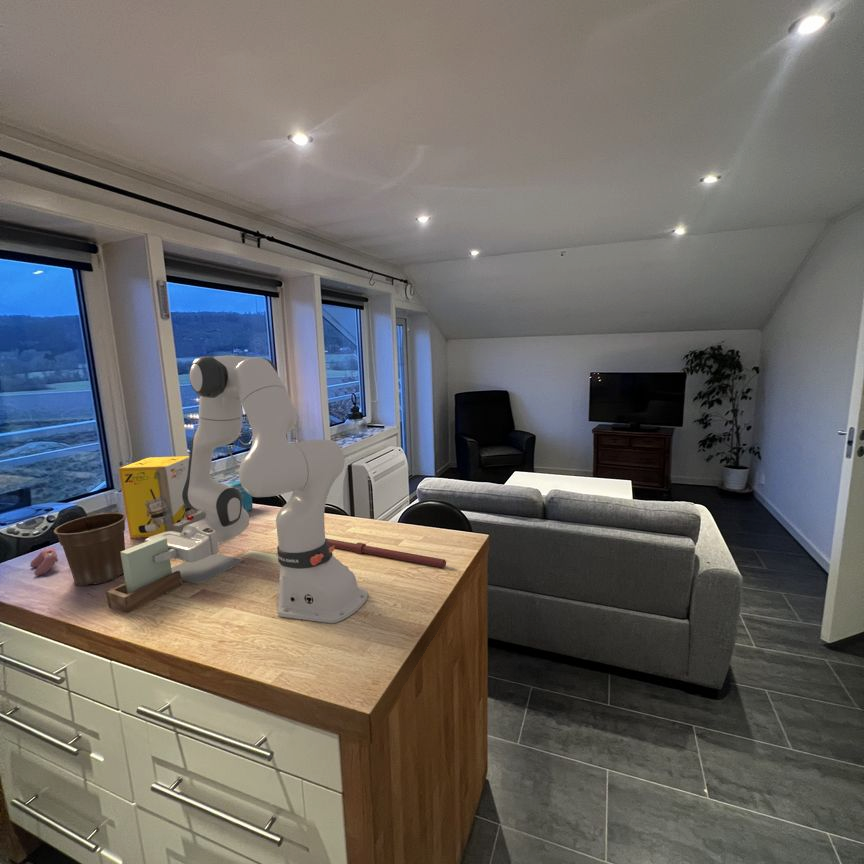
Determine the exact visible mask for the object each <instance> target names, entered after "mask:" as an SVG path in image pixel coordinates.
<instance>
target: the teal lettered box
mask: <svg viewBox="0 0 864 864" xmlns="http://www.w3.org/2000/svg"><path fill="white" fill-rule="evenodd" d="M224 484H225V483H224ZM225 485H228V486H231V487H233V488H236V489H237V490H239V492H240V493H241V496H242V506H243V508H244V509H245V510H246V511H247V512H249V510H250V511H252V509H253V496H251V495H250V494H248V493H247V492H246V491H245V490H244V488H243V487H242V485H241V483H240V480H237V481H233V482H230V483H226V484H225Z"/></svg>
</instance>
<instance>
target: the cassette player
mask: <svg viewBox="0 0 864 864" xmlns="http://www.w3.org/2000/svg"><path fill="white" fill-rule="evenodd" d="M205 517H206V513H204V512H202V511H200V512H198V513H195V514H193V515H190V516H188V517H187V519H186V520H184V521H181V522H179V523H176V524H174V525H172V526H173V531H174V532H179V533H181V532H182V530H183V528H184V527H185V526H187V525H189V524H192V523H194V522H197V521H199V520H202V519H204V518H205Z"/></svg>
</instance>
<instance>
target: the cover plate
mask: <svg viewBox="0 0 864 864" xmlns="http://www.w3.org/2000/svg"><path fill="white" fill-rule="evenodd" d="M167 551H168V543H167V538H164V537H157V538H155V539H152V540H150V541H147V542H145V541H144V542H142V543H140V544H137V545H134V546H132V547H130V548H127V549H126V548H125V550H124V551H121V552H120V553H121V559H122V565H123V571H124V573H123V575H124V580H125V582H124V583H126V588H127V594H129V593H131V592H133V591H135V590H137V589H139V588H141V587H143V586H146V585H148V584H150V583H152V582H154V581H156V580H158V579H161V578H163V577H165V576H167V575H169V574H171V573H172V570H171V568H172V564H171V563H172V562H171V559H169V560H163V561H161V562H158V563H157V562H153V558H152V557H153V555H156V554H158V553H160V554H161V553H164V552H167Z"/></svg>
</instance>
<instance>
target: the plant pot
mask: <svg viewBox="0 0 864 864" xmlns="http://www.w3.org/2000/svg"><path fill="white" fill-rule="evenodd" d="M125 520H127V516H126V513H122V512H105V513H97V514H92V515H88V516H83V517H79V518H76V519H73V520H70V521H67V522H65V523H63V524H61V525H58V526H57V527H56V528H54V530H53V533H54V535H56V536H57V539H58V541H59V544H60V546H62V549H63V551H64V555H65V557H66V561H67V563H68V566H69V569H70V573H71V575H72V579H73V582H74V584H75V585H76V586H81V587H85V586H86V587H88V586H89V585H91V584H95V585H98V584H102V583H106V582H109V581H111V580H114V579H116V578H118V577H119V576H122V575H124V571H123V565H122V559H121V553H120V552H121V551H124V550H126V543H125V531H126V521H125Z"/></svg>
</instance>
